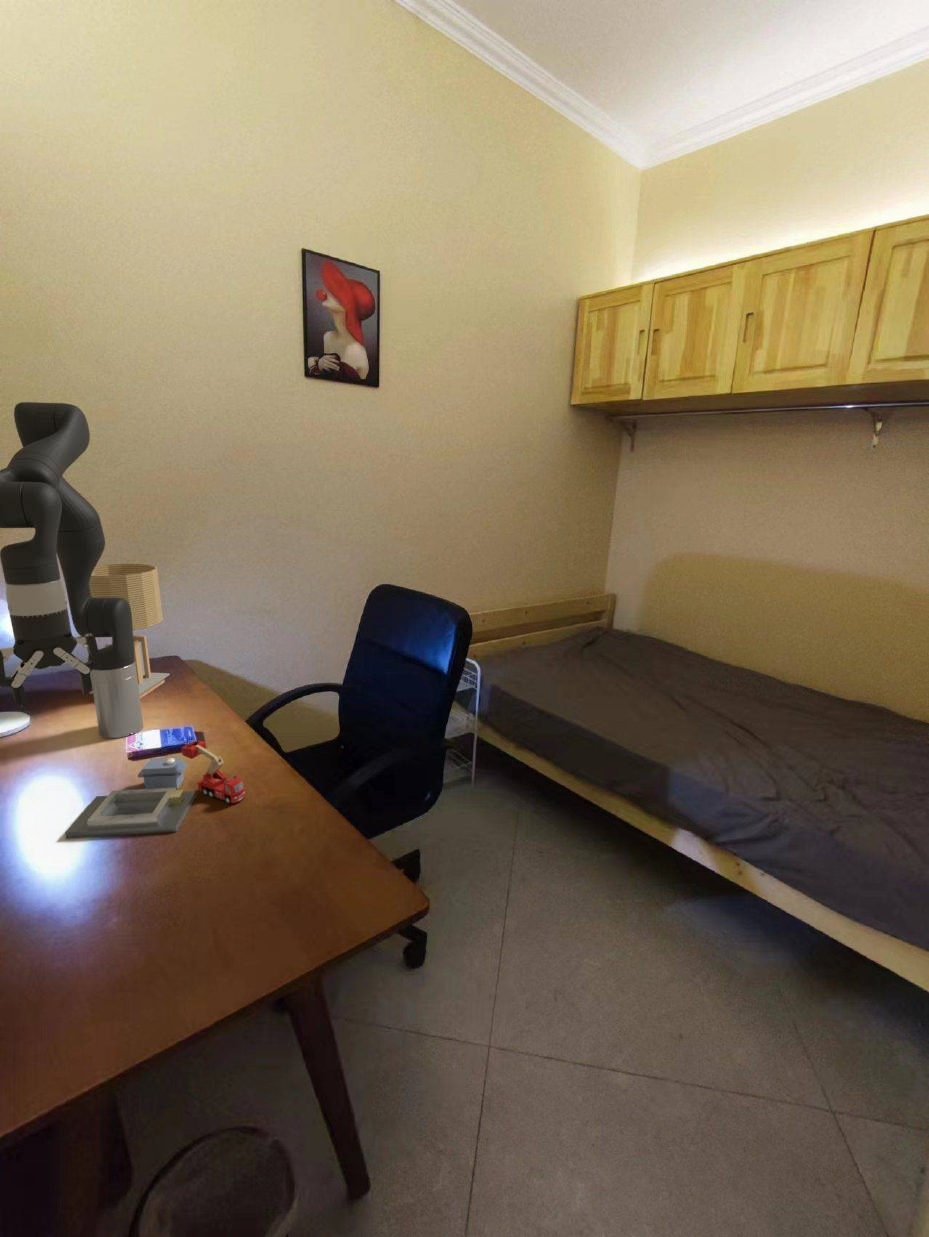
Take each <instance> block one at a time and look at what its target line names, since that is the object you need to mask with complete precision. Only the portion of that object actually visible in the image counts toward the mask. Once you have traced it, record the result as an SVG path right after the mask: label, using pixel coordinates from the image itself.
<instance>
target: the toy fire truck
mask: <svg viewBox="0 0 929 1237" xmlns="http://www.w3.org/2000/svg"><path fill="white" fill-rule="evenodd" d="M181 755H182V756H183V757H185V758H188V759H190V760H192V759H194V758H197V757H198V756H201V755H203V756H205V758H208V759H209V760H211V761H210V764H209V766H208V768H207V770H206V772H205V774H203V775H202V776H203V777H202V779H201V780H199V781H198V782H197V787H198V791H199V792H202V793H203V794H204V795H205V796H207V795H209V797H210V798H214V797H215V798H217V799H220V800H223V801H225V802H226V803H227V804H236V803H238V802H240V801H242V800H244V798H245V797H246V790H245V783H244V780H243V779H242V777H241V776H238V775H234V776H231V777H230V778H228V779H227V776H226V775H225V774H224V773H223V772H222V771H220V768H222V767H223V765H224V764H225V762H224V760H223V758H222V757H221V756H220V755H215V754H214V753H213V752H211V751H209V750H207V749H206V743H205V741H201V740H194V741H193V742H190V743H188V744H186V745H185V746H182V747H181Z"/></svg>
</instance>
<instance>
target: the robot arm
mask: <svg viewBox="0 0 929 1237" xmlns="http://www.w3.org/2000/svg"><path fill="white" fill-rule="evenodd" d="M13 418H14V425H15V428H16V431H17V432H16V433H17V435H18V438H19V440H20V443H21V446H22V448H20V449H19V450H17V451H16V452H15V453H14V455H13V456H12V458H11V459H10V461H9V462H8V464H7V466H6V467H5V468H2V469H0V529H34V530H35V531H34V534H33V537H32V538H31V539H30V540H25V541H21V542H20V541H19V542H16V543H15V542H14V543H11V544H7V545H4V546H3V547H2V548H1V549H0V564H1V567H2V573H3V578H4V582H5V597H6V598H5V599H6V604H7V609H8V613H9V617H10V623H11V628H12V633H13V637H14V644H13V647H12V646H11V647H4V648H0V688H3V687H9V688H11V691H12V696H13V700H14V703H15V704H16V706H21V709H25V708H27V707H28V702H27V698H26V693H25V688H24V685H23V683H24V681H25V680H26V678H27V677H29V676H30V674H31V673H32V672H33V670H34V669H38V670H43V669H44V670H45V669H47V668H49V667H59V666H61V667H62V665H63V664H65V663H66V664H68V665H70V666H72V668H75V669H76V670H78V677H79V683H80V689H81V692H82V693H83V695H87V694H90V693H89V692H90V691H92V690H93V694H92V695H93V700H94V702H93V703H94V708H95V714H96V722H97V726H98V733H99V734H98V735H100V737H102V738H106V739H118V738H119V739H120V738H123V737H128V736H130V735H129V734H131V733H134V734H136V733H139V731H141V730H142V729H143V728H144V721H143V713H142V711H143V710H142V703H141V698H140V695H139V687H138V680H137V672H136V665H135V658H134V640H133V636H134V632H133V627H132V613H131V608H130V605H129V603H128V601H127V600H126V599H124V598H118V597H112V598H93V597H92V596H91V593H90V588H89V581H90V577H91V575H92V572H93V570H94V568H95V566H98V565H97V564H98V563H99V561H100V559H101V557H102V556H103V553H104V551H105V548H106V538H105V533H104V529H103V525H102V521H101V517H100V515H99V513H98V512H97V510H96V508H95V507H94V506H93V505H92V504H91V503H90V502H89V501H88V500H87V498H85V497H84V496H83V495H82V494H81V493H80V492H79V491H77V489H75V488H74V487H73V486H72V485H71V484H70V483H69V482H68V481H67V479H65V478H64V476H63V475H64V474H65V472H66V471H67V470H68V469H69V468H70V467H71V466H72V465H73V464H74V463H75V462H76V461H77V460H78V459H79V457H80V456H82V455H83V454H84V453H85V452H86V451H87V449H88V447H89V445H90V441H91V440H90V439H91V436H90V427H89V424H88V421H87V420H88V419H87V417H86V415H85V414H84V411H83V410H82V409H81V408H79V407H78V406H76V405H74V404H72V403H71V404H70V403H66V402H65V403H64V402H38V401H37V402H36V401H35V402H34V401H25V402H24V401H21V402H18V403H17V404H16V405H15V407H14V410H13ZM58 562H59V563H58ZM59 565H60V568H59ZM60 569H61V572H62V577H63V580H64V586H65V589H64V586H63V584H62V580H61V574H60ZM65 590H66V593H67V594H66V593H65ZM66 595H67V597H66ZM68 606H69V610H70V614H69V611H68ZM69 615H70V616H71V617H70V616H69ZM70 618H71V620H72V624H73V627H74V629H75V632H76V633H77V634H78V635H79V636H76V637H75V636H74V635H73V633H72V628H71V622H70ZM96 638H111V639H112V640H111V644H109V645H110V646H108V647H105V646H104V647H103V648H98V644H97V643H98V642H97V639H96ZM78 644H79V645H81V647H82V648H84V649H86V650H87V655H88V656H87V661H86V662H84V661H82V660H81V659H79V658H78V657H77V656H75V654H73V652H74V650H75V648H76V647H77V645H78ZM13 655H14V656H16V657H17V658H18V659H20V660H21V661H20V662H19V664H18V665H17V667H16V670H15V671H14V672H13V674H11V676H6V672H5V671H6V670H5V663H7V662H9V661H10V658H11V656H13Z"/></svg>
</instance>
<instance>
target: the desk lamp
mask: <svg viewBox="0 0 929 1237" xmlns="http://www.w3.org/2000/svg"><path fill="white" fill-rule="evenodd" d="M89 588H90V593H91V596H92V597H93V598H112V597H118V598H124V599H126V600H127V601H128V603H129V605H130V608H131V613H132V627H133V631H138V630H139V631H140V630H144V629H148V628H151V627H153V626H157V625H160V623H162V622H163V620H164V618H163V617H164V616H163V609H162V600H161V599H162V598H161V590H160V583H159V574H158V567H157V566H156V565H152V564H147V563H146V564H145V563H109V564H98V565H96V566H95V568H94V570H93V572H92V575H91V577H90V581H89ZM133 640H134V658H135V665H136V672H137V680H138V687H139V695H140V699H142V698H143V697H145V696H146V695H148V694H149V693H151V692H153V691H154V690H155V689H156V688H158V687H160V686H162V684H164V683H165V678H167V677H168V676H170V673H167V672H151V667H150V666H151V665H150V658H149V657H150V656H149V647H148V642H147V640H148V639H147V636H146V635H133ZM110 645H111V644H105V645H103V646H104V648H105V647H108V646H110ZM88 694H90V695H93V689H91V690H90V691H89V693H88Z"/></svg>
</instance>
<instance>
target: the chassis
mask: <svg viewBox="0 0 929 1237" xmlns="http://www.w3.org/2000/svg"><path fill="white" fill-rule="evenodd" d="M196 798H197V792H196V790H190V791H189V790H188V791H187V790H186V791H185V790H184V789H176V788H156V789H145V788H141V789H122V790H121V789H119V790H111V791H110V793H109V794H108V795H98V796H97V795H96V796H95V797H94V798H93V800H92V801H90V803H89V804H88V806H86V808H84V810H83V811H82V812H81V814H79V816H78V817H77V818H76V819H75V820H74V822H73V823H72V824H71V825H70V826H69V827H68V829H66V831H65V832H64V835H65V838H66V839H67V840H68V839H69V840H70V839H82V838H83V839H84V838H95V837H100V838H101V837H111V836H112V837H113V836H128V835H129V836H131V835H145V834H159V833H174V832H175V833H176V832H178V830H179V828H181V827H180V826H181V825H182V822H183V821H184V819H185V817H186V816H187V814H188V812H189V810H190V809H191V807H192V805H193V803H194V801H195V799H196Z"/></svg>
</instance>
